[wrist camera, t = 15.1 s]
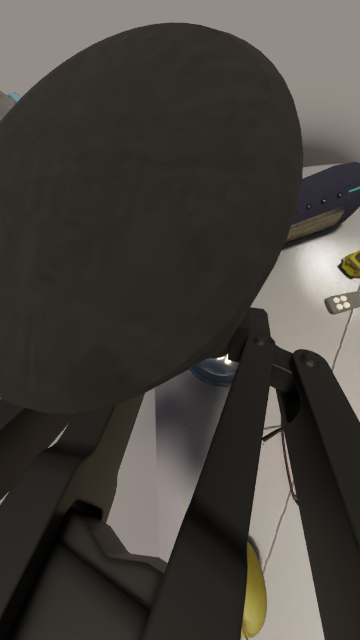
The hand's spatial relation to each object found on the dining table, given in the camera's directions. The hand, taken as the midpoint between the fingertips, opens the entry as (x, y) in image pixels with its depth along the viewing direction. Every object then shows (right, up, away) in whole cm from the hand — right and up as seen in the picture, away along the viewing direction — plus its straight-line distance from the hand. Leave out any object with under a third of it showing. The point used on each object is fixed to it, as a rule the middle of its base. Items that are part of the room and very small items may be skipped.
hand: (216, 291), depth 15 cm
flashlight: (+2, -6, +10) cm, 11 cm away
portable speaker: (+20, +18, +24) cm, 35 cm away
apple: (+7, -45, +16) cm, 48 cm away
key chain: (+33, +2, +17) cm, 37 cm away
